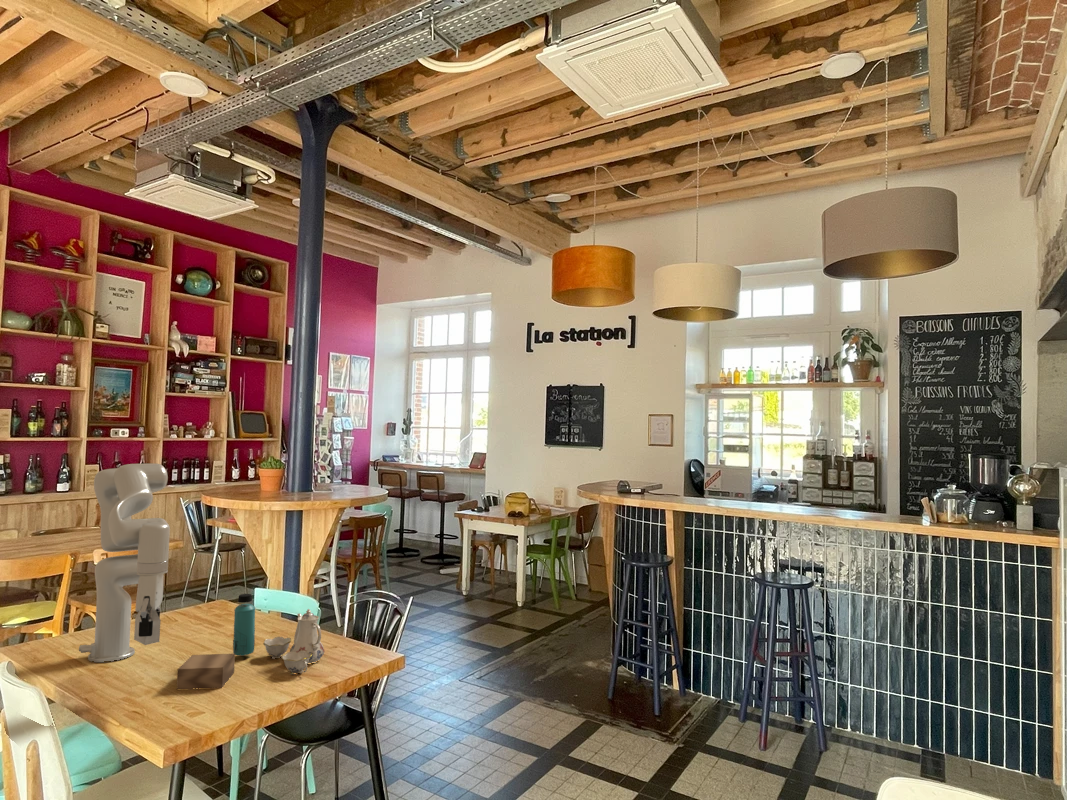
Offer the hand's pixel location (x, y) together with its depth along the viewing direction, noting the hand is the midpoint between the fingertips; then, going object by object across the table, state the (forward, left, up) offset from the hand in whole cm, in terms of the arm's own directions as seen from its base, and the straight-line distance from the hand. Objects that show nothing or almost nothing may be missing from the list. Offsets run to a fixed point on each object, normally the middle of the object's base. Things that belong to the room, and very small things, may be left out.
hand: (149, 630), depth 183 cm
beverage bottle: (+22, +24, -17) cm, 37 cm away
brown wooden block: (+14, +5, -17) cm, 23 cm away
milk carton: (-1, 0, -3) cm, 3 cm away
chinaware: (+39, +15, -17) cm, 45 cm away
